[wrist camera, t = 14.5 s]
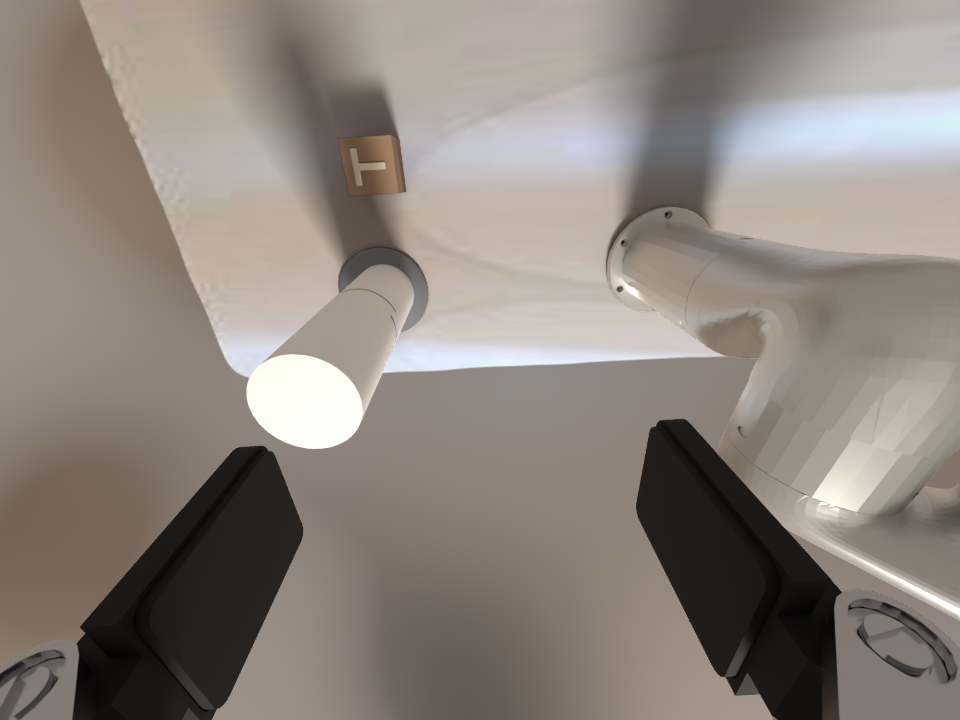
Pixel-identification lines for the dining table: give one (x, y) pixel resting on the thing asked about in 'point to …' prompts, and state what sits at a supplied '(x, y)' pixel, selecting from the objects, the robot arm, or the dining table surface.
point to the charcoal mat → (397, 260)
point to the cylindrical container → (332, 362)
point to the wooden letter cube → (372, 165)
